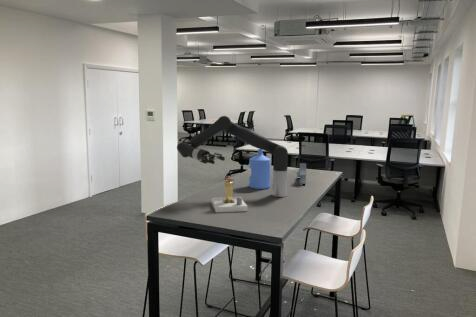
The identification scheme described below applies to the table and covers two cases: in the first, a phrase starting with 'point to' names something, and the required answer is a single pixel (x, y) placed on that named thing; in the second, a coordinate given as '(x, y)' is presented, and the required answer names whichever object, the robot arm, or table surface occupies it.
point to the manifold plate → (229, 205)
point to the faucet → (302, 173)
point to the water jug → (259, 171)
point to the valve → (229, 190)
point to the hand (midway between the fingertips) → (219, 160)
